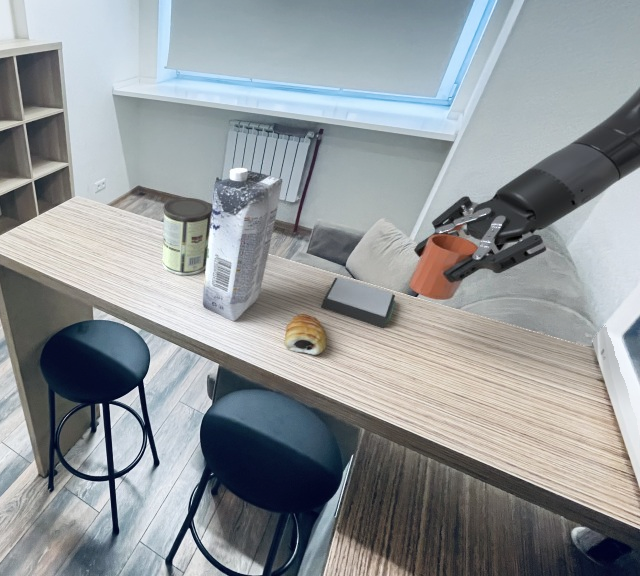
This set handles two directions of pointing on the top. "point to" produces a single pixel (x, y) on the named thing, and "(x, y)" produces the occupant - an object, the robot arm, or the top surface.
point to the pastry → (305, 335)
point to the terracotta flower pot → (440, 265)
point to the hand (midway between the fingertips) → (431, 265)
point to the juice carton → (239, 240)
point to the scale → (359, 301)
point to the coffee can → (186, 235)
